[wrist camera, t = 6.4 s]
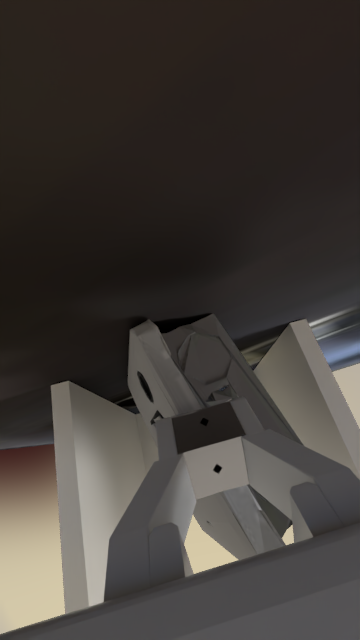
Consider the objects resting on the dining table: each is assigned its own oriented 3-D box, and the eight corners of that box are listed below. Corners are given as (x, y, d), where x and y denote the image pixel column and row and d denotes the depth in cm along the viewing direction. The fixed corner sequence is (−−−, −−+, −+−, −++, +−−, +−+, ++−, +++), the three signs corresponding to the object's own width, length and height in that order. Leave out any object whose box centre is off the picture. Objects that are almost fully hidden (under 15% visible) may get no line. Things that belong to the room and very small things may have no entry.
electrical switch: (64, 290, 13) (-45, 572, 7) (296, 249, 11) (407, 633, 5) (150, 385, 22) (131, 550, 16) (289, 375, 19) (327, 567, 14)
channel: (306, 318, 16) (422, 558, 12) (248, 385, 35) (285, 489, 30) (50, 385, 16) (69, 670, 11) (129, 417, 34) (148, 530, 29)
